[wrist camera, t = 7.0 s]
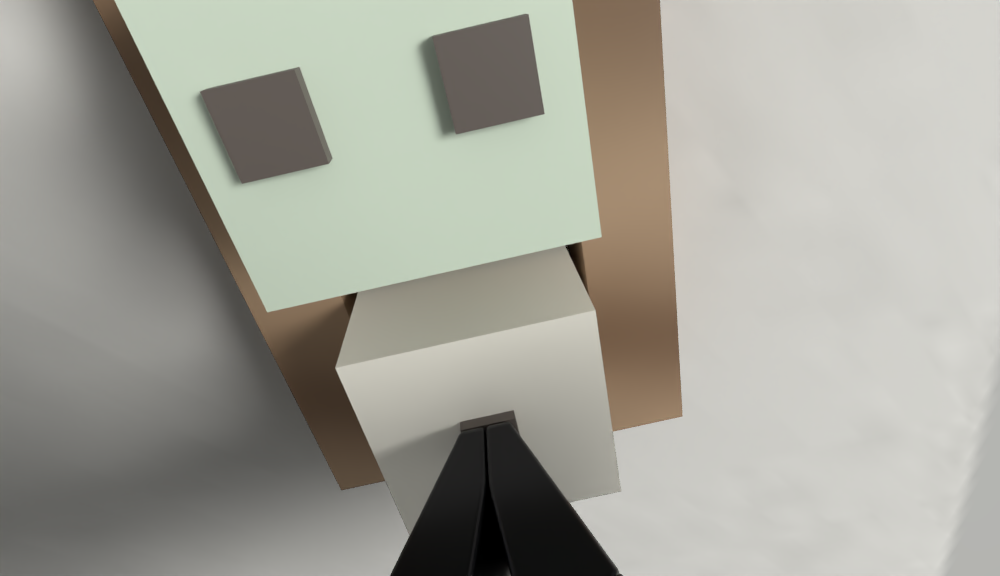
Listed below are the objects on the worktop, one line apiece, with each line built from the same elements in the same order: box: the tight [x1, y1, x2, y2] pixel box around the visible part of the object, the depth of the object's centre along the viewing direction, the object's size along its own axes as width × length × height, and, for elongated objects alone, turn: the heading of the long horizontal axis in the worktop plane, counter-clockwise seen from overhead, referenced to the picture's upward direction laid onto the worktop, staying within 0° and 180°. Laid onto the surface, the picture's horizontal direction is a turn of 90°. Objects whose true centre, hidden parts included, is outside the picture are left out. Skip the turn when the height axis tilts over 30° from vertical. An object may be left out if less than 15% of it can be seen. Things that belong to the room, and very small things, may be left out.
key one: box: [335, 246, 621, 535], centre depth 11 cm, size 4×4×4 cm
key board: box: [93, 0, 682, 490], centre depth 9 cm, size 17×8×2 cm, turn 12°
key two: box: [114, 0, 602, 312], centre depth 7 cm, size 4×4×4 cm
